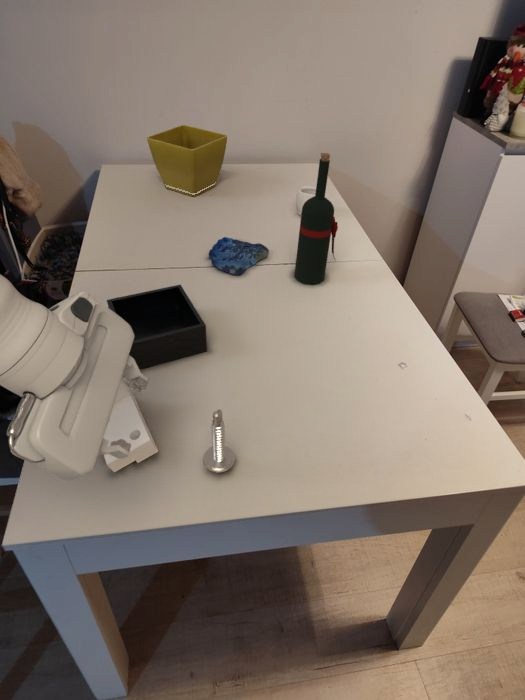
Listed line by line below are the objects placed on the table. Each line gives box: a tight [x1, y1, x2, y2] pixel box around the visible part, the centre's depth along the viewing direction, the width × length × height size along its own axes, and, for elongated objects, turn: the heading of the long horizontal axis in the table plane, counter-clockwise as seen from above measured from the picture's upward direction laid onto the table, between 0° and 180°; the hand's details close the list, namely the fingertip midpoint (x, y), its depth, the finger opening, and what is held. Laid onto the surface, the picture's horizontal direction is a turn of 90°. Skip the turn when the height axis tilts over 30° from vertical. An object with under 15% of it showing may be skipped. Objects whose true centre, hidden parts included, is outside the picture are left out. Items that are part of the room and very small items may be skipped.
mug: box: [295, 185, 316, 217], centre depth 141 cm, size 12×8×8 cm
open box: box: [106, 284, 208, 371], centre depth 90 cm, size 16×16×7 cm
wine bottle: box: [293, 152, 339, 286], centre depth 104 cm, size 8×10×30 cm
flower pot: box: [146, 124, 228, 198], centre depth 149 cm, size 19×19×17 cm
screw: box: [202, 408, 236, 474], centre depth 65 cm, size 13×5×5 cm
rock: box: [208, 236, 270, 276], centre depth 119 cm, size 15×17×2 cm
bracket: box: [103, 378, 159, 473], centre depth 71 cm, size 13×7×8 cm, turn 29°
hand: (135, 417), depth 55 cm, fingers open, 8 cm apart
